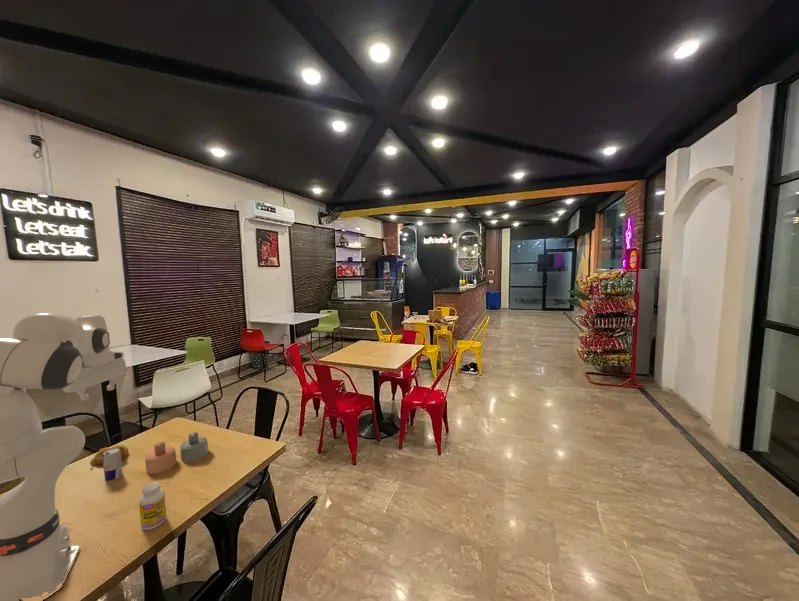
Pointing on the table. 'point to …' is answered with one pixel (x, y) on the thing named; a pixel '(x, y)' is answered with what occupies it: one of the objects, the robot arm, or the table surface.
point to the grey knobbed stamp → (194, 448)
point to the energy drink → (112, 464)
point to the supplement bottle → (152, 506)
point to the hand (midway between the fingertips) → (98, 394)
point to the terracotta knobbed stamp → (160, 459)
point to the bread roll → (99, 455)
